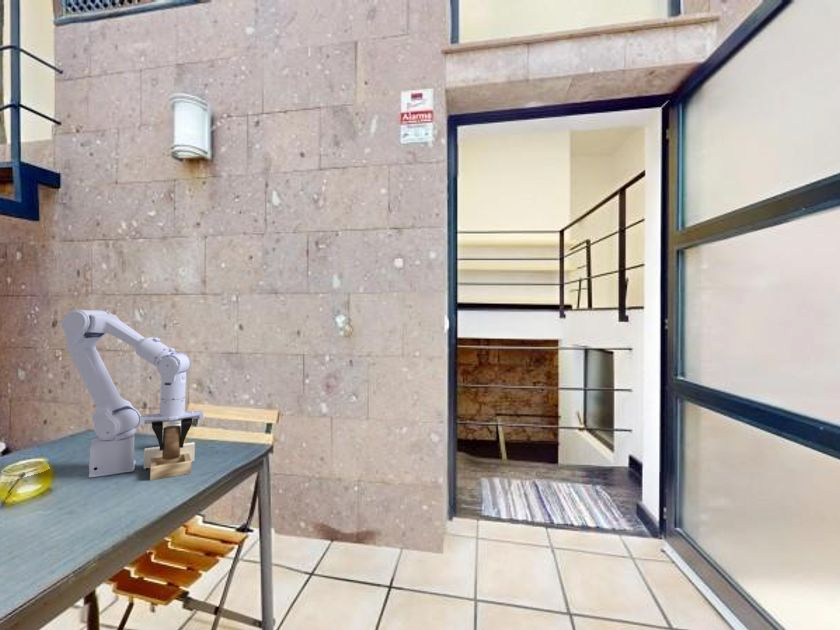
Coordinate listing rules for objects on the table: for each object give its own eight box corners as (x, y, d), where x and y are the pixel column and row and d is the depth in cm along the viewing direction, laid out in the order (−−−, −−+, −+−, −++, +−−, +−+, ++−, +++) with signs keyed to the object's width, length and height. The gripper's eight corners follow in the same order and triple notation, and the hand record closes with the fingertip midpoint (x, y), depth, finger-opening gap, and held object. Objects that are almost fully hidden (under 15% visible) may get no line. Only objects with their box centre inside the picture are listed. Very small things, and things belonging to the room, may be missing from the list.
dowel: (162, 460, 104) (163, 430, 104) (162, 455, 107) (163, 426, 107) (180, 457, 106) (181, 428, 106) (179, 453, 110) (180, 424, 110)
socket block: (150, 480, 101) (150, 468, 101) (150, 468, 108) (150, 457, 108) (190, 473, 106) (191, 462, 106) (188, 462, 113) (188, 451, 113)
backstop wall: (143, 469, 107) (144, 450, 107) (143, 466, 109) (144, 448, 109) (194, 461, 114) (194, 444, 114) (193, 459, 116) (194, 442, 116)
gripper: (140, 403, 100) (138, 457, 100) (205, 398, 108) (203, 448, 108) (140, 398, 105) (138, 448, 105) (202, 393, 114) (200, 440, 114)
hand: (171, 447), depth 107 cm, fingers closed on dowel, 4 cm apart
